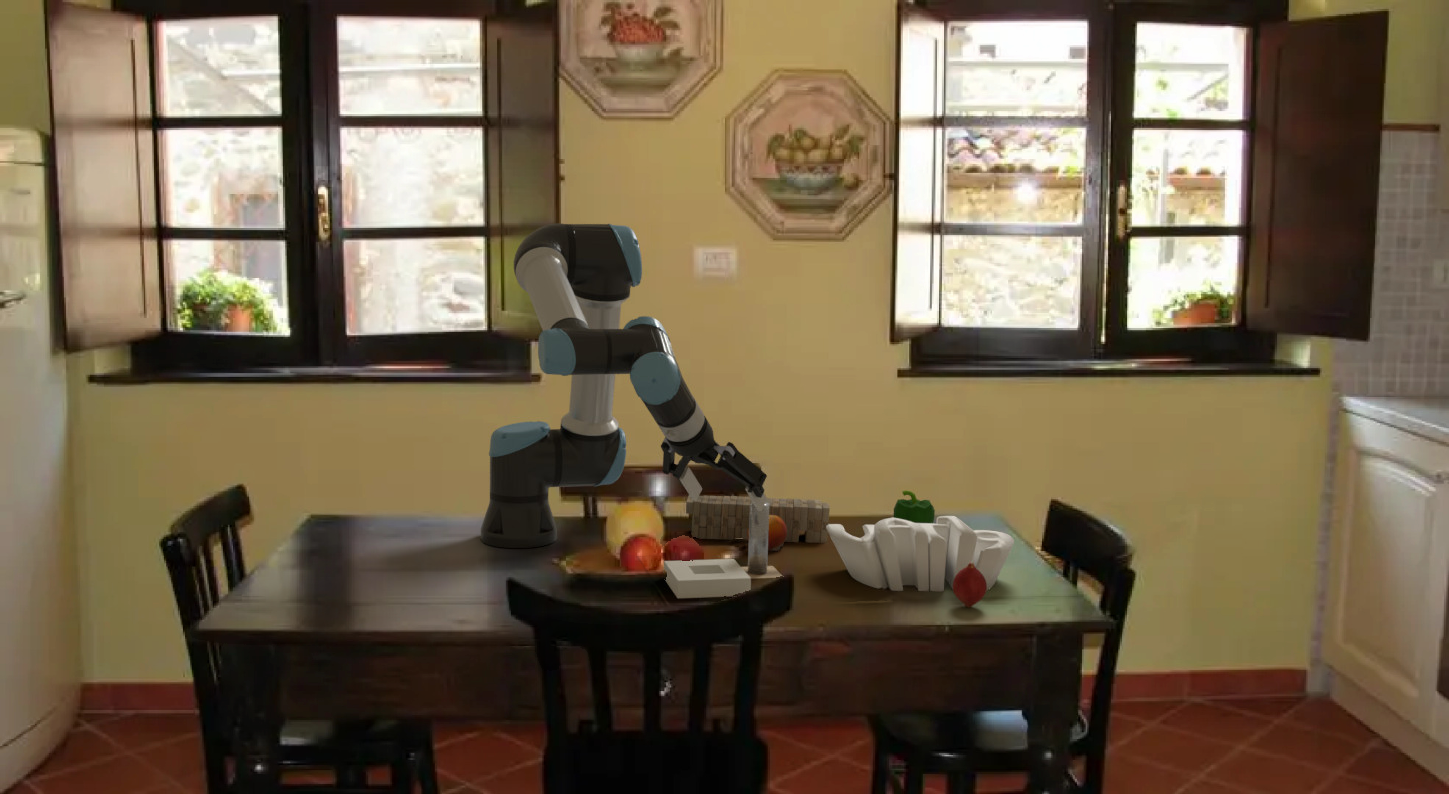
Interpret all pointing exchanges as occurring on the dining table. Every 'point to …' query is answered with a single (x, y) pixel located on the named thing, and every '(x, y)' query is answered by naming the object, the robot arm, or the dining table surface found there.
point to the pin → (758, 540)
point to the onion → (969, 585)
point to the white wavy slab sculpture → (920, 552)
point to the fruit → (775, 533)
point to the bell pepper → (914, 509)
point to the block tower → (732, 515)
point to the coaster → (770, 574)
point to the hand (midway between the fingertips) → (729, 499)
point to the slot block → (706, 578)
